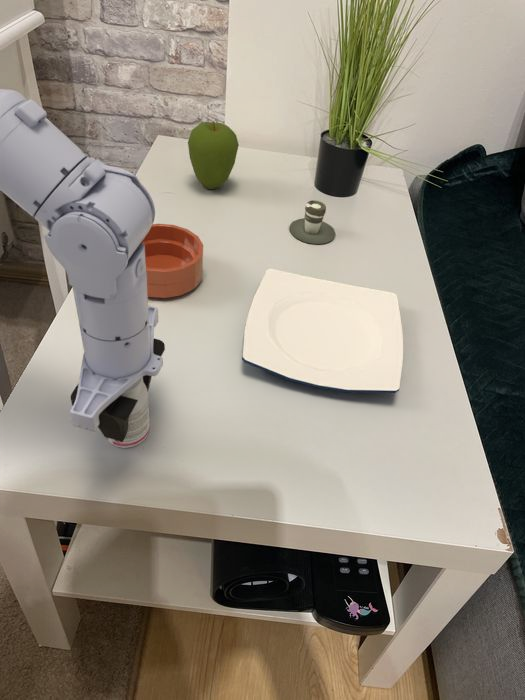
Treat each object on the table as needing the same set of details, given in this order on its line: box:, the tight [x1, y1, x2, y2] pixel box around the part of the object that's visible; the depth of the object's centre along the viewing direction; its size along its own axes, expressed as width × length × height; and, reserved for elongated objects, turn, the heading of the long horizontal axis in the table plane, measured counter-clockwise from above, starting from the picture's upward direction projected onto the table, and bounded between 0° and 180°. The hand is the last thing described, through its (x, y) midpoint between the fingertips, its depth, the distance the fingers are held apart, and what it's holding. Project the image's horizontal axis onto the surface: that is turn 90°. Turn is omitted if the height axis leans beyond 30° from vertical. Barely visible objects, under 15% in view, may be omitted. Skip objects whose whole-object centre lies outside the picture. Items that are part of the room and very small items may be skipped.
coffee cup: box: [288, 199, 336, 245], centre depth 86 cm, size 12×12×5 cm
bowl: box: [142, 223, 204, 299], centre depth 73 cm, size 11×11×5 cm
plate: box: [241, 268, 404, 394], centre depth 68 cm, size 20×20×3 cm
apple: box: [187, 121, 240, 190], centre depth 90 cm, size 9×8×12 cm
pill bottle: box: [105, 377, 151, 449], centre depth 52 cm, size 5×5×8 cm
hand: (125, 416), depth 54 cm, fingers closed on pill bottle, 5 cm apart
